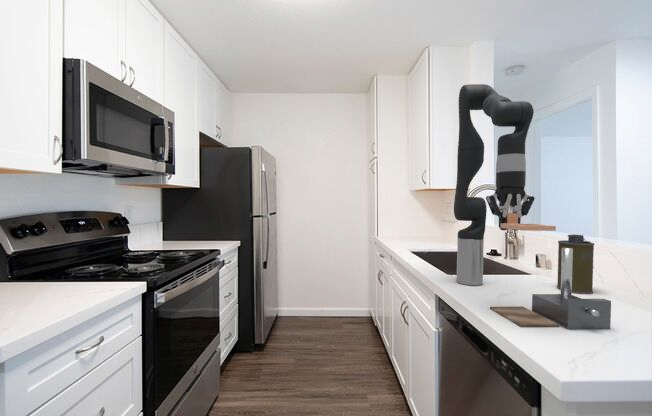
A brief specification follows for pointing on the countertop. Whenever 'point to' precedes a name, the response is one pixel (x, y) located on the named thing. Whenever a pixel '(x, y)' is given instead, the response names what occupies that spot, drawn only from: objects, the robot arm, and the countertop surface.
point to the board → (524, 317)
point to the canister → (578, 263)
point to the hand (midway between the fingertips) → (509, 230)
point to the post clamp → (572, 303)
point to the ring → (513, 224)
